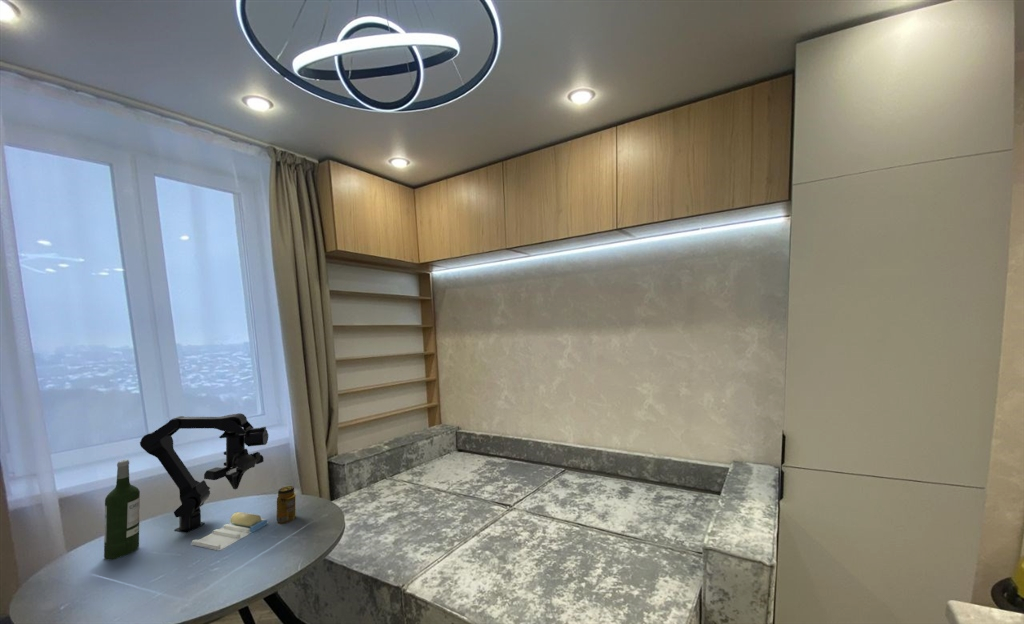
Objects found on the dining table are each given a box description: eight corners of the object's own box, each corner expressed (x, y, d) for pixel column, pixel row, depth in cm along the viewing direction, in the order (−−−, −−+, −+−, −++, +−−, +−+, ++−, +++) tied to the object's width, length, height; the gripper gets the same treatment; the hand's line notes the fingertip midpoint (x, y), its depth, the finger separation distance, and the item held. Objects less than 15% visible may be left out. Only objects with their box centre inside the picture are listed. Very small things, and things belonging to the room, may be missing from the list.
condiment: (295, 514, 143) (295, 483, 143) (299, 522, 136) (298, 490, 137) (273, 520, 138) (273, 488, 138) (276, 530, 131) (275, 496, 132)
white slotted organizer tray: (190, 545, 123) (190, 539, 123) (242, 518, 140) (242, 513, 140) (219, 551, 119) (219, 545, 119) (269, 523, 136) (269, 518, 136)
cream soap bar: (230, 526, 134) (230, 515, 134) (241, 520, 138) (241, 510, 138) (250, 530, 131) (250, 518, 131) (260, 524, 135) (260, 513, 135)
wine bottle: (139, 552, 120) (140, 460, 122) (103, 563, 115) (105, 467, 116) (138, 542, 126) (139, 455, 127) (104, 553, 120) (106, 461, 121)
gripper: (225, 457, 129) (225, 502, 128) (273, 441, 146) (273, 480, 146) (203, 455, 132) (202, 499, 131) (253, 439, 150) (253, 478, 149)
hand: (235, 489), depth 139 cm, fingers closed
